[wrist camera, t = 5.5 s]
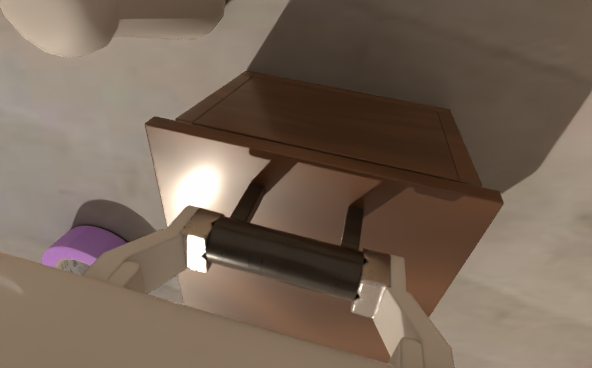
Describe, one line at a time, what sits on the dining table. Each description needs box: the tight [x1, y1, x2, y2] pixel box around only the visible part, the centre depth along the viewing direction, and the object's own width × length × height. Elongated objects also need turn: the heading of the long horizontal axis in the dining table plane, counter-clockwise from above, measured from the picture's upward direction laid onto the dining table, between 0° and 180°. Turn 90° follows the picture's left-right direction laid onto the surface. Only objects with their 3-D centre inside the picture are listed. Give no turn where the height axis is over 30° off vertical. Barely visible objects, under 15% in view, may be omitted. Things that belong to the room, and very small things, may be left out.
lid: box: [145, 117, 504, 363], centre depth 17 cm, size 17×15×5 cm
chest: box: [175, 71, 482, 187], centre depth 24 cm, size 16×15×10 cm
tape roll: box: [42, 226, 127, 275], centre depth 41 cm, size 12×12×4 cm
